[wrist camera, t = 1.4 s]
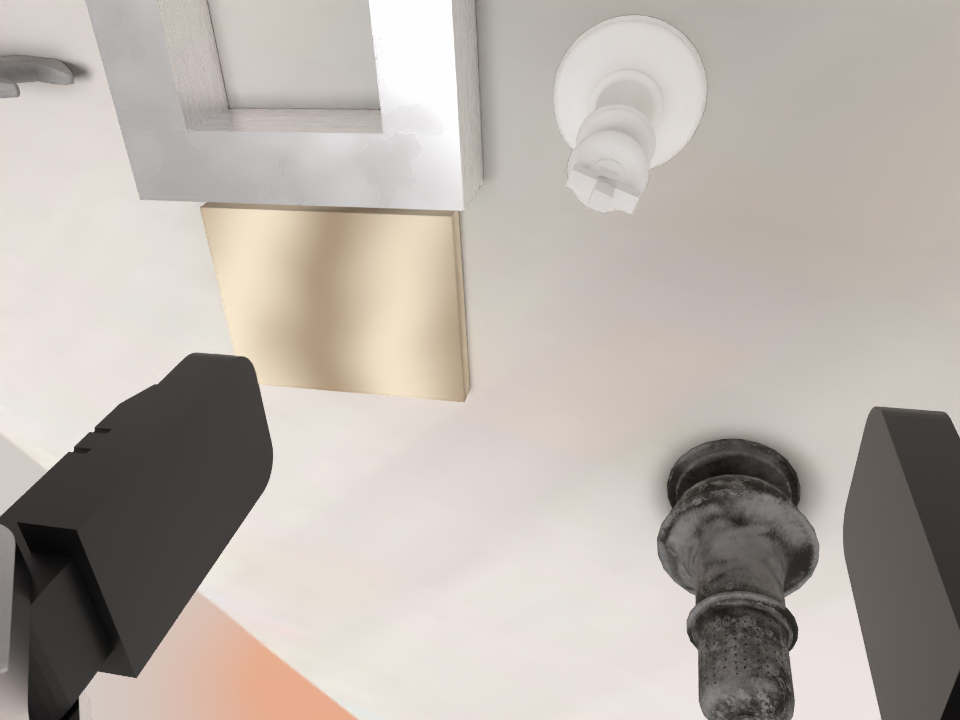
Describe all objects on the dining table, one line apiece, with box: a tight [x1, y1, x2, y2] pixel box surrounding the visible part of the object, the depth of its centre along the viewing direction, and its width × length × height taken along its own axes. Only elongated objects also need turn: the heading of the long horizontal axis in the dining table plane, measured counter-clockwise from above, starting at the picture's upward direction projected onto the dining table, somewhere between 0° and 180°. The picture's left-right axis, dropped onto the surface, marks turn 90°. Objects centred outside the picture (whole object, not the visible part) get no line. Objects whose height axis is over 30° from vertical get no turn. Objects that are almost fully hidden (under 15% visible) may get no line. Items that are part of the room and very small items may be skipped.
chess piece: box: [553, 15, 707, 215], centre depth 22 cm, size 5×5×10 cm
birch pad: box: [200, 202, 470, 402], centre depth 32 cm, size 10×8×1 cm
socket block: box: [85, 0, 484, 211], centre depth 26 cm, size 12×12×3 cm
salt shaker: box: [657, 439, 819, 720], centre depth 29 cm, size 6×6×12 cm
